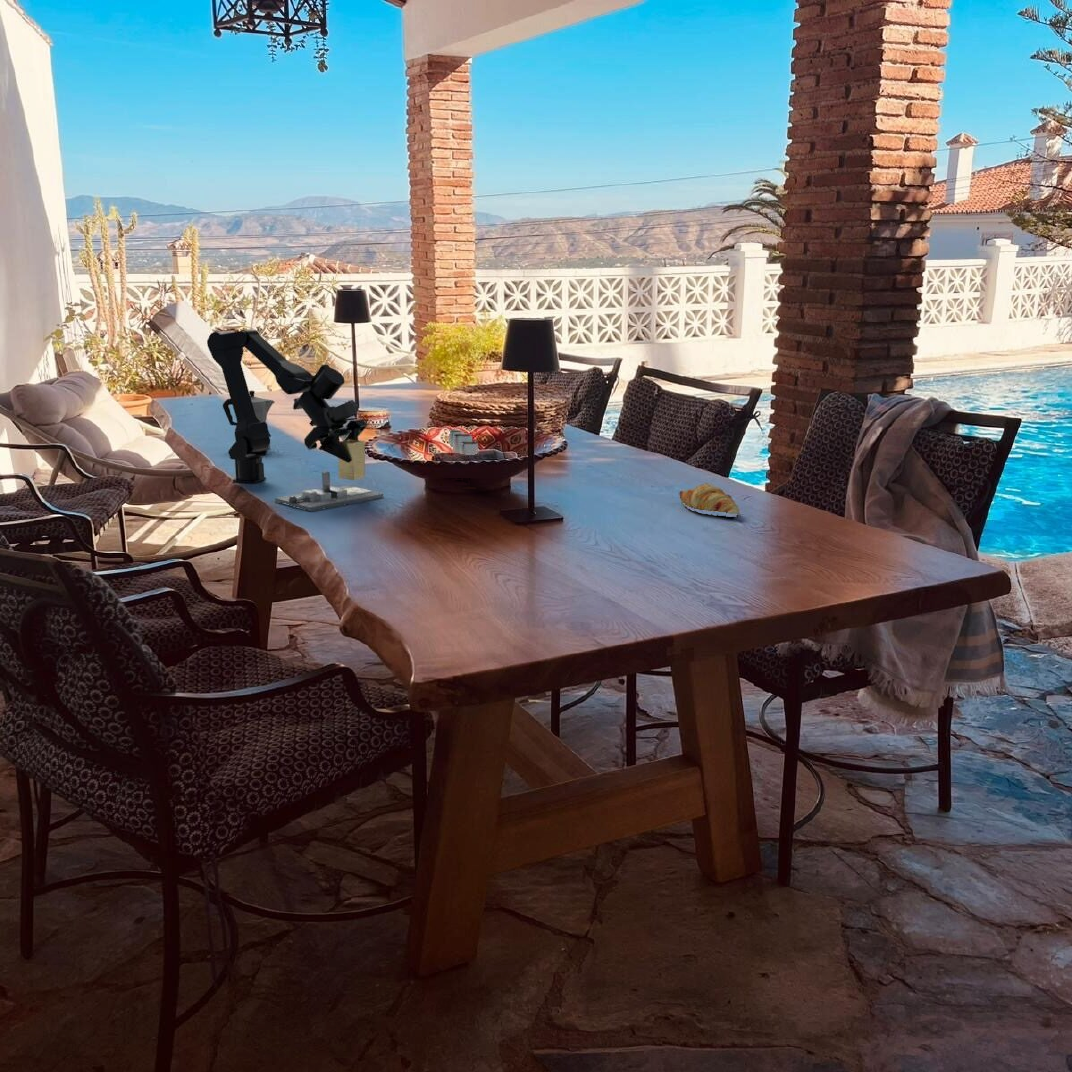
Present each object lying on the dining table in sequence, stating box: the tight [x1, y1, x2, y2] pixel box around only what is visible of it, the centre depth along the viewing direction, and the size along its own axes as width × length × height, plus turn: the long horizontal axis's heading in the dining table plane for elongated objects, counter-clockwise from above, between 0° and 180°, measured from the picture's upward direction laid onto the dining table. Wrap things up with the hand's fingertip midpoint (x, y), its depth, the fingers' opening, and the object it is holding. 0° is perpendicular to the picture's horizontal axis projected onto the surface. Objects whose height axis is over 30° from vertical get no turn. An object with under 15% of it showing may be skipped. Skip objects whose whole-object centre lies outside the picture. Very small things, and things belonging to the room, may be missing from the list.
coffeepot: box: [222, 390, 276, 451], centre depth 319 cm, size 15×9×18 cm, turn 103°
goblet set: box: [445, 428, 479, 455], centre depth 279 cm, size 28×6×13 cm, turn 21°
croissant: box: [678, 482, 740, 515], centre depth 248 cm, size 21×10×8 cm, turn 31°
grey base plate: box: [274, 471, 384, 512], centre depth 253 cm, size 14×23×7 cm, turn 138°
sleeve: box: [337, 439, 366, 481], centre depth 257 cm, size 5×5×9 cm
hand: (356, 460), depth 256 cm, fingers closed on sleeve, 5 cm apart
